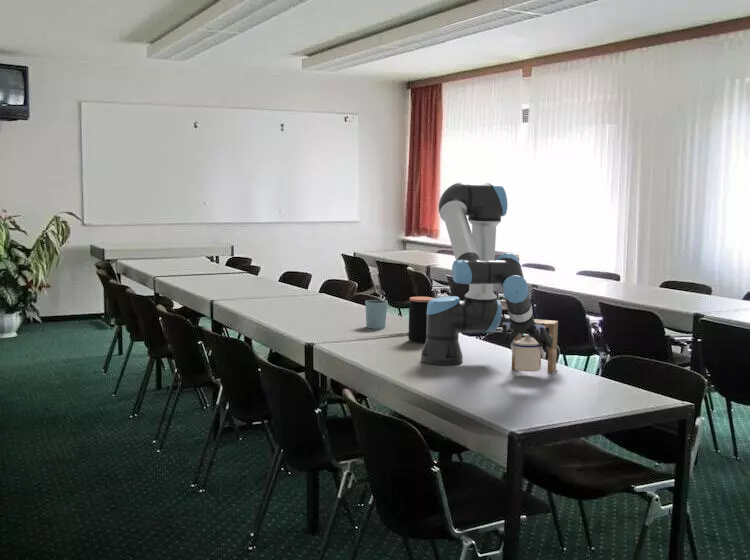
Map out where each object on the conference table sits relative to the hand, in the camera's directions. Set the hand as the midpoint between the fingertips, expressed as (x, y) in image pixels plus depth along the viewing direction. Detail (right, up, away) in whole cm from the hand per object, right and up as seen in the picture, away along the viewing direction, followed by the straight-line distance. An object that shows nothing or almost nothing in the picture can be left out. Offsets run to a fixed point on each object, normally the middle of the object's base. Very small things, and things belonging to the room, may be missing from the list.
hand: (529, 354), depth 270 cm
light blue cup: (-52, +4, +91) cm, 105 cm away
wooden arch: (+3, -6, +9) cm, 11 cm away
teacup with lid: (-2, -5, -2) cm, 5 cm away
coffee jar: (-33, 0, +58) cm, 67 cm away
